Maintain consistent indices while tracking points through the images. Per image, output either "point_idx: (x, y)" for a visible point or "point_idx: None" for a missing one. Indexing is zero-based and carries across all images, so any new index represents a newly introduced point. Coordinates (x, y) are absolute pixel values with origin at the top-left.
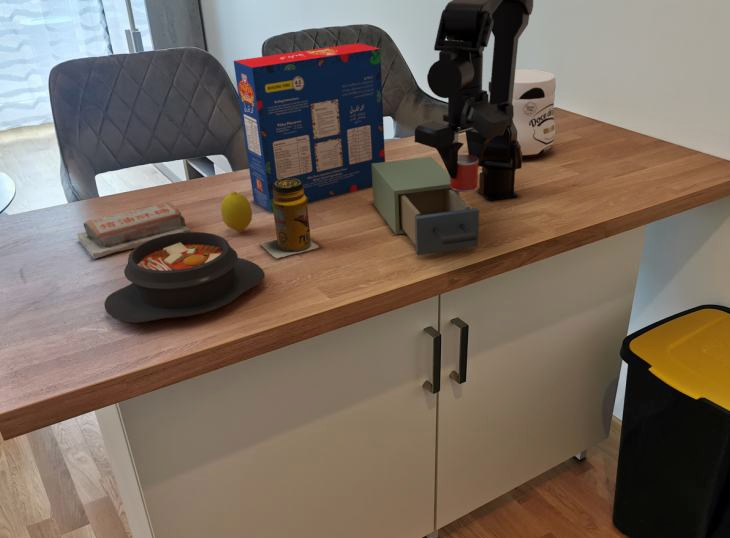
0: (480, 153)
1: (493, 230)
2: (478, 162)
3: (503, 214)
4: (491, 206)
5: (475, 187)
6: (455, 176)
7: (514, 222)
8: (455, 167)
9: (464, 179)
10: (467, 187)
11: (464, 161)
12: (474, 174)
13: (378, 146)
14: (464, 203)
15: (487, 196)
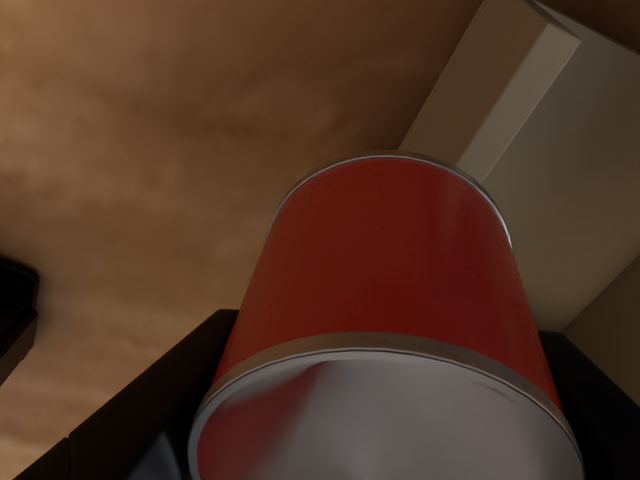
0: (124, 454)
1: (230, 31)
2: (187, 365)
3: (63, 136)
4: (62, 232)
5: (361, 163)
6: (559, 342)
7: (70, 24)
8: (627, 427)
9: (499, 257)
10: (464, 189)
11: (461, 449)
12: (379, 237)
13: None
14: (507, 116)
15: (30, 295)
